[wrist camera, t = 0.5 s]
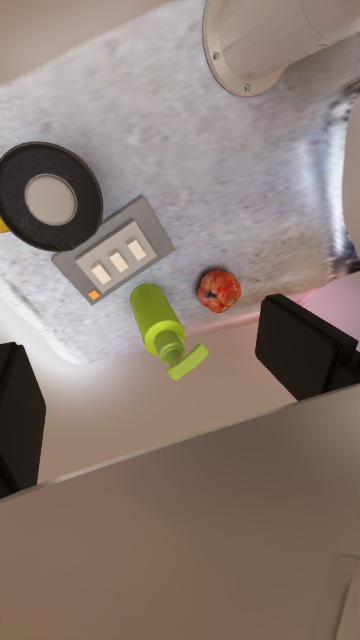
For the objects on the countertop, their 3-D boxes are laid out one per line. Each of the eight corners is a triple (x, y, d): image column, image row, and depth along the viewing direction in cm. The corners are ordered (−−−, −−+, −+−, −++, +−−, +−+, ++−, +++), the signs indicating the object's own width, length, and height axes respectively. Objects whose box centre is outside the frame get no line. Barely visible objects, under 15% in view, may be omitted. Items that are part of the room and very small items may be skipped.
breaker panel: (141, 195, 40) (149, 199, 35) (171, 246, 45) (182, 256, 40) (52, 256, 40) (47, 269, 35) (91, 300, 45) (92, 316, 40)
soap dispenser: (173, 296, 49) (218, 364, 33) (144, 319, 50) (174, 397, 34) (154, 273, 46) (194, 335, 30) (123, 298, 47) (145, 373, 30)
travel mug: (33, 141, 33) (-16, 121, 17) (98, 160, 36) (111, 158, 20) (32, 206, 36) (-9, 244, 20) (92, 219, 39) (98, 261, 23)
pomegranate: (225, 262, 52) (202, 259, 43) (256, 285, 49) (238, 286, 41) (205, 294, 55) (180, 297, 46) (233, 316, 52) (212, 323, 44)
